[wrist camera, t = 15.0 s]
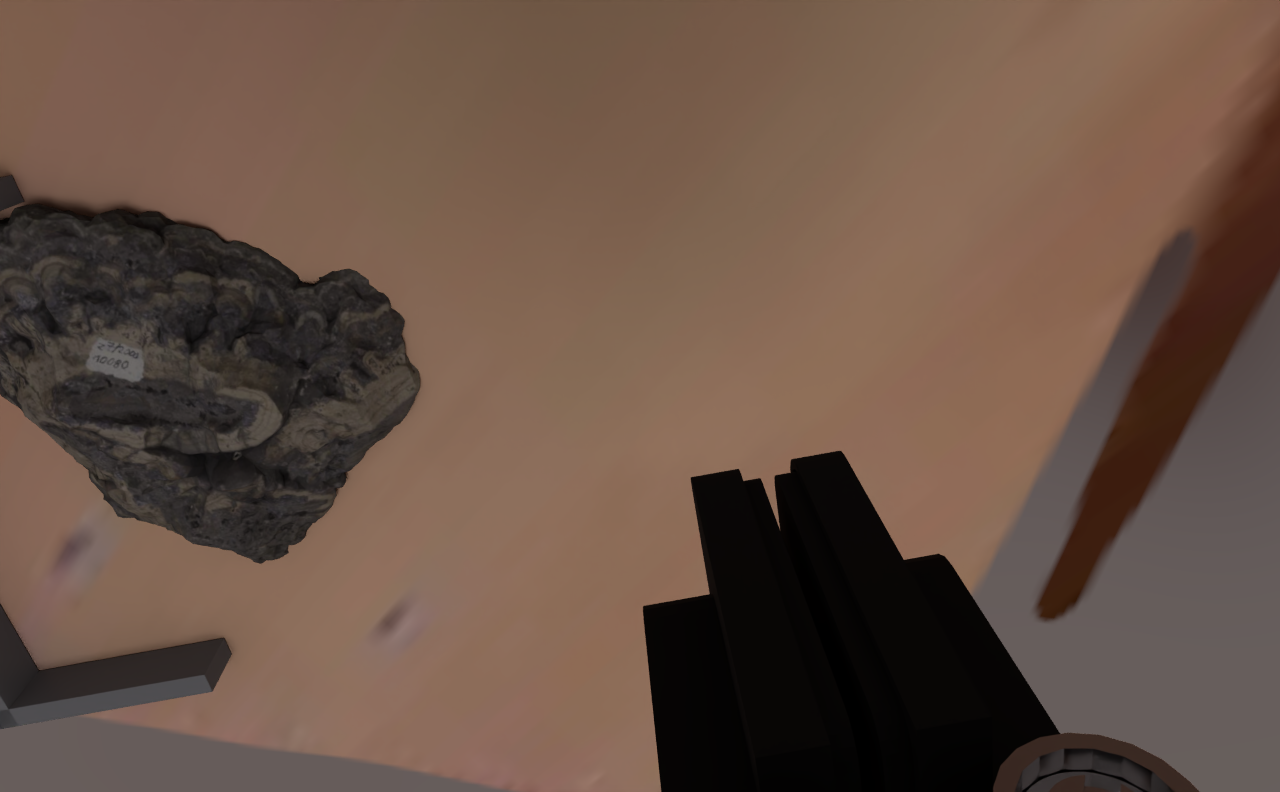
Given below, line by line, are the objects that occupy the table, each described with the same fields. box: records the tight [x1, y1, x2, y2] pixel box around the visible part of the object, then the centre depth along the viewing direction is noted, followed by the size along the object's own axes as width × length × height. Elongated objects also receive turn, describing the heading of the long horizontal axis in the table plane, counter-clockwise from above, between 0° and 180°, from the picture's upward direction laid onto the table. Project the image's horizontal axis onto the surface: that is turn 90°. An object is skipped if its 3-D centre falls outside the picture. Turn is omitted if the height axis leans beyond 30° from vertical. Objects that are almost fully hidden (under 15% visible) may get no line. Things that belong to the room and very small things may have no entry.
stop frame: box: [0, 175, 232, 729], centre depth 37 cm, size 23×10×2 cm, turn 10°
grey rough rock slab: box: [0, 204, 420, 564], centre depth 36 cm, size 19×4×15 cm
